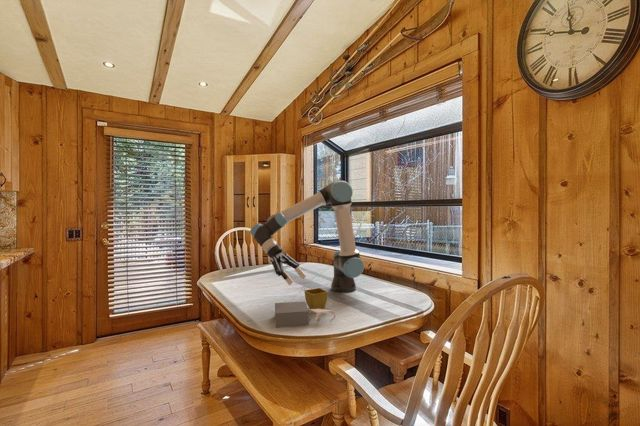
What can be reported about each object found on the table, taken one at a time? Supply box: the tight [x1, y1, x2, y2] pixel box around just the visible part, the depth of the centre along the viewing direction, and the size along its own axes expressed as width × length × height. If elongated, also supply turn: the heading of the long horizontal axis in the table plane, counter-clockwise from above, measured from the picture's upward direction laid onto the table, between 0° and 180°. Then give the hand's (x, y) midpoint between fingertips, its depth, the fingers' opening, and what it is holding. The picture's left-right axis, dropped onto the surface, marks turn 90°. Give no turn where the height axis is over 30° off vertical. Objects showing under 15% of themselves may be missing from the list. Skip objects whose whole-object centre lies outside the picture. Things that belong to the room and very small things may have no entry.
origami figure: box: [308, 308, 337, 325], centre depth 136 cm, size 12×8×5 cm
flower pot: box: [303, 287, 329, 310], centre depth 152 cm, size 9×9×9 cm
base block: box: [274, 300, 310, 328], centre depth 137 cm, size 14×14×6 cm
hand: (298, 280), depth 156 cm, fingers open, 13 cm apart
